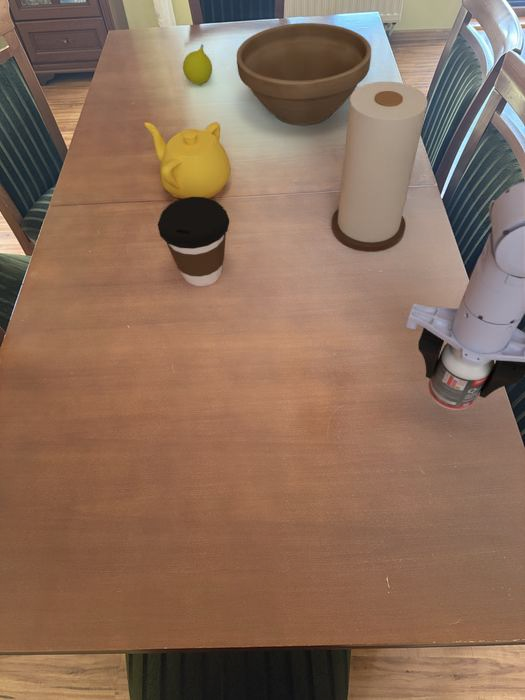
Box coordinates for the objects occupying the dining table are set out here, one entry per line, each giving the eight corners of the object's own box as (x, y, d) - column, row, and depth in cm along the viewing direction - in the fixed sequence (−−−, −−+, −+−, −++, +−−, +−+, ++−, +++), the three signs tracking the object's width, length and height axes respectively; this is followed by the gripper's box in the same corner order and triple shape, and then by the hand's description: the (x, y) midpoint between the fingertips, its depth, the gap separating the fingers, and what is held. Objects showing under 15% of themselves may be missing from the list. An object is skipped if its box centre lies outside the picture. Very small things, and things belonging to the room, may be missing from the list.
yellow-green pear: (217, 85, 126) (213, 42, 118) (190, 92, 125) (184, 48, 117) (208, 73, 130) (203, 30, 122) (181, 79, 129) (175, 36, 121)
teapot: (221, 161, 106) (215, 105, 97) (241, 201, 98) (236, 144, 88) (155, 175, 104) (143, 119, 95) (170, 217, 96) (158, 161, 86)
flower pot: (229, 140, 111) (224, 78, 101) (251, 78, 128) (248, 19, 117) (361, 147, 108) (369, 83, 97) (366, 82, 124) (373, 22, 114)
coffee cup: (221, 303, 82) (212, 246, 72) (159, 289, 84) (143, 232, 75) (243, 258, 88) (238, 200, 79) (186, 247, 91) (174, 189, 81)
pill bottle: (466, 419, 60) (494, 371, 52) (420, 398, 62) (440, 349, 54) (481, 384, 63) (510, 333, 55) (437, 365, 65) (458, 314, 57)
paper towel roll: (413, 216, 94) (445, 85, 75) (390, 260, 87) (419, 129, 68) (347, 198, 97) (361, 70, 79) (320, 239, 91) (329, 109, 72)
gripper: (408, 307, 49) (385, 384, 60) (569, 358, 45) (514, 432, 56) (428, 261, 53) (404, 341, 64) (579, 304, 49) (525, 383, 59)
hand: (456, 380), depth 60 cm, fingers closed on pill bottle, 5 cm apart
